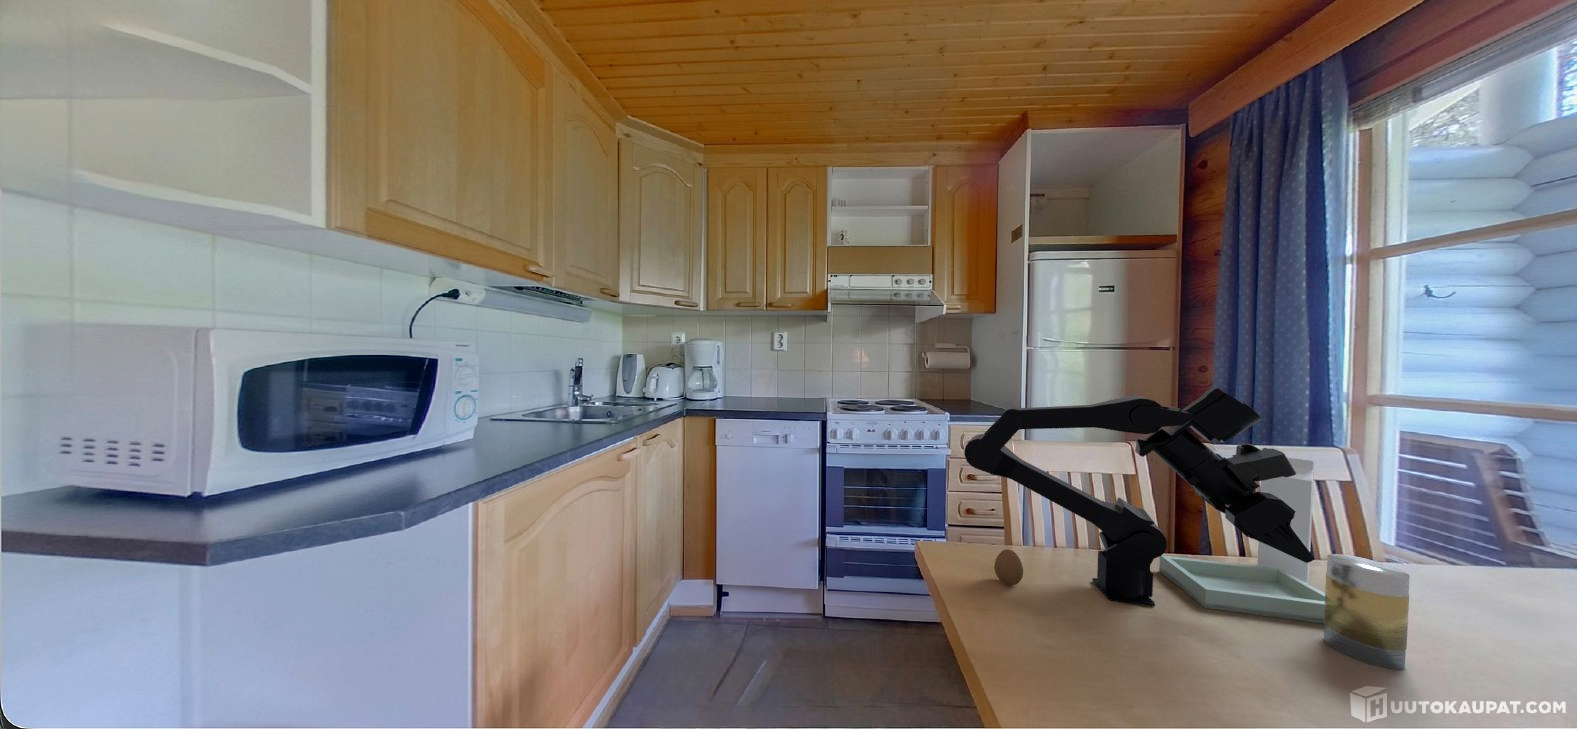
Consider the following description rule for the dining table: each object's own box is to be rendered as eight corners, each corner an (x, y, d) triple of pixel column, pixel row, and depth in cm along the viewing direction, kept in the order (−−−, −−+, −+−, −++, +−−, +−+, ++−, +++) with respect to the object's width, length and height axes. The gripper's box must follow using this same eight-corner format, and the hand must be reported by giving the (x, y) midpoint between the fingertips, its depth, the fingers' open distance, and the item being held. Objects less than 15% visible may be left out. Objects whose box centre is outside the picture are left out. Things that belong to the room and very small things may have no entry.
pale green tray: (1205, 607, 68) (1205, 589, 68) (1159, 570, 79) (1160, 555, 79) (1350, 627, 63) (1351, 607, 63) (1279, 585, 75) (1280, 568, 75)
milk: (1307, 587, 75) (1313, 463, 74) (1256, 572, 79) (1261, 456, 79) (1309, 576, 78) (1315, 458, 78) (1260, 563, 83) (1265, 452, 82)
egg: (994, 587, 72) (995, 552, 72) (993, 575, 77) (994, 542, 76) (1024, 593, 71) (1025, 558, 71) (1021, 580, 75) (1022, 547, 75)
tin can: (1356, 664, 56) (1361, 573, 55) (1308, 632, 62) (1311, 551, 62) (1424, 674, 54) (1429, 581, 54) (1367, 640, 60) (1371, 557, 60)
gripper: (1275, 438, 56) (1406, 542, 50) (1223, 421, 72) (1318, 498, 66) (1192, 487, 60) (1304, 588, 54) (1160, 460, 76) (1245, 536, 70)
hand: (1293, 547), depth 61 cm, fingers open, 9 cm apart
